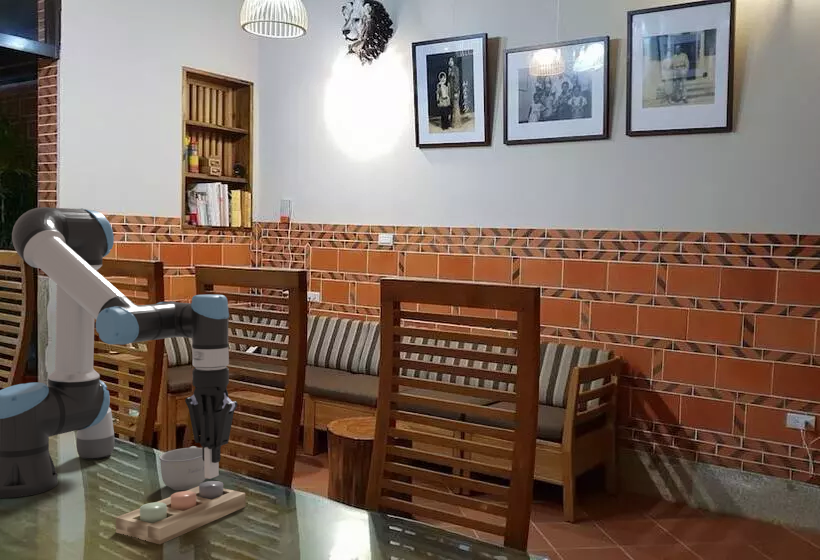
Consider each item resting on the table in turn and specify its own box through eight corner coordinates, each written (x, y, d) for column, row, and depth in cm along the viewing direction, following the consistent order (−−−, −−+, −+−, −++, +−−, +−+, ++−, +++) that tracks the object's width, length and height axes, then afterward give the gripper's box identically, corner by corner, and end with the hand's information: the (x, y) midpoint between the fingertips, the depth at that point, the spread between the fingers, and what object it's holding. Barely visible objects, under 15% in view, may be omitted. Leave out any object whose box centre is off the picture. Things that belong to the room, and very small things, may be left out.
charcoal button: (194, 499, 164) (194, 485, 164) (210, 493, 168) (210, 479, 168) (211, 503, 161) (211, 489, 161) (228, 496, 166) (228, 483, 166)
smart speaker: (97, 463, 197) (97, 409, 197) (68, 459, 200) (67, 406, 200) (122, 453, 206) (121, 402, 206) (93, 450, 209) (93, 399, 209)
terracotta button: (165, 510, 157) (165, 496, 157) (183, 503, 161) (183, 489, 161) (183, 515, 154) (183, 500, 154) (201, 507, 159) (201, 493, 159)
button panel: (115, 532, 150) (115, 517, 150) (203, 497, 171) (203, 484, 171) (159, 544, 145) (159, 528, 144) (245, 506, 166) (245, 493, 165)
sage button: (134, 523, 150) (134, 508, 150) (154, 515, 154) (154, 500, 154) (152, 528, 147) (152, 512, 147) (172, 519, 152) (172, 505, 152)
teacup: (194, 495, 173) (194, 460, 172) (150, 492, 175) (150, 457, 174) (221, 477, 186) (221, 444, 186) (180, 474, 188) (180, 442, 188)
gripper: (175, 367, 163) (176, 476, 164) (221, 372, 157) (222, 486, 158) (200, 362, 170) (201, 467, 171) (246, 367, 164) (246, 476, 165)
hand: (211, 476), depth 165 cm, fingers closed
